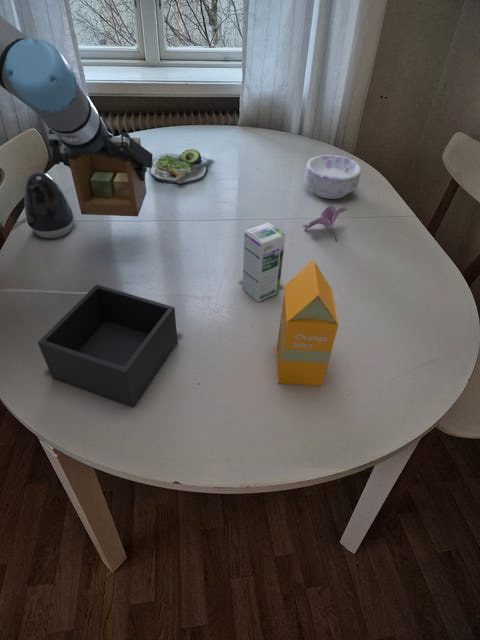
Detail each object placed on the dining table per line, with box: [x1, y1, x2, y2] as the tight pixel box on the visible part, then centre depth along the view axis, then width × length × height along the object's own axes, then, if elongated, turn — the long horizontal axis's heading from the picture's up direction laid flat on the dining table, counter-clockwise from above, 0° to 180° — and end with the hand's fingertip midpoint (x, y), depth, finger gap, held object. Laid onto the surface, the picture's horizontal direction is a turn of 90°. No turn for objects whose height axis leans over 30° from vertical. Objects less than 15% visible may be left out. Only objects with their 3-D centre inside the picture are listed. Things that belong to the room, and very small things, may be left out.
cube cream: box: [114, 173, 131, 199], centre depth 92 cm, size 4×4×4 cm
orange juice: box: [276, 258, 340, 387], centre depth 69 cm, size 8×9×20 cm
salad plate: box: [150, 149, 213, 185], centre depth 129 cm, size 19×18×5 cm
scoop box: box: [68, 137, 147, 218], centre depth 88 cm, size 12×11×12 cm
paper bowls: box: [304, 154, 362, 200], centre depth 122 cm, size 15×15×8 cm
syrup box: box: [241, 221, 286, 303], centre depth 86 cm, size 6×6×14 cm
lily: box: [304, 203, 351, 243], centre depth 106 cm, size 12×12×10 cm
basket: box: [37, 283, 179, 408], centre depth 73 cm, size 16×16×9 cm
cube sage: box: [90, 172, 115, 198], centre depth 91 cm, size 4×4×4 cm
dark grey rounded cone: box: [23, 171, 75, 239], centre depth 99 cm, size 10×10×15 cm
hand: (114, 173), depth 90 cm, fingers closed on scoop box, 12 cm apart
